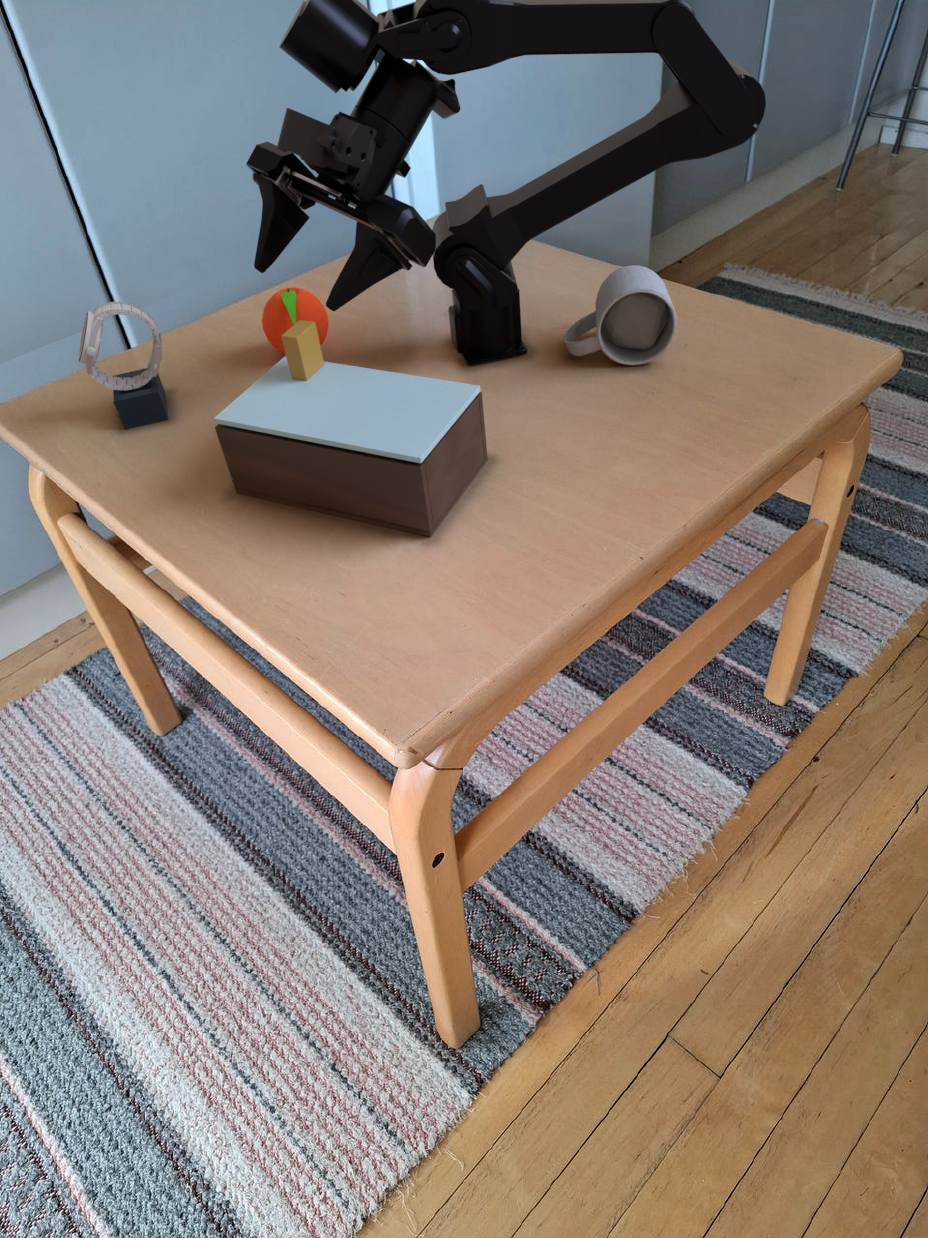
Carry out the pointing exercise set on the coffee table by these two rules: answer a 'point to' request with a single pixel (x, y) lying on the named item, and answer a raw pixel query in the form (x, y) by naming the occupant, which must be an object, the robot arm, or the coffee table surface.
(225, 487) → the coffee table surface
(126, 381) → the watch
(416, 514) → the case
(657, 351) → the ceramic mug
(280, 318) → the clementine
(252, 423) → the lid
